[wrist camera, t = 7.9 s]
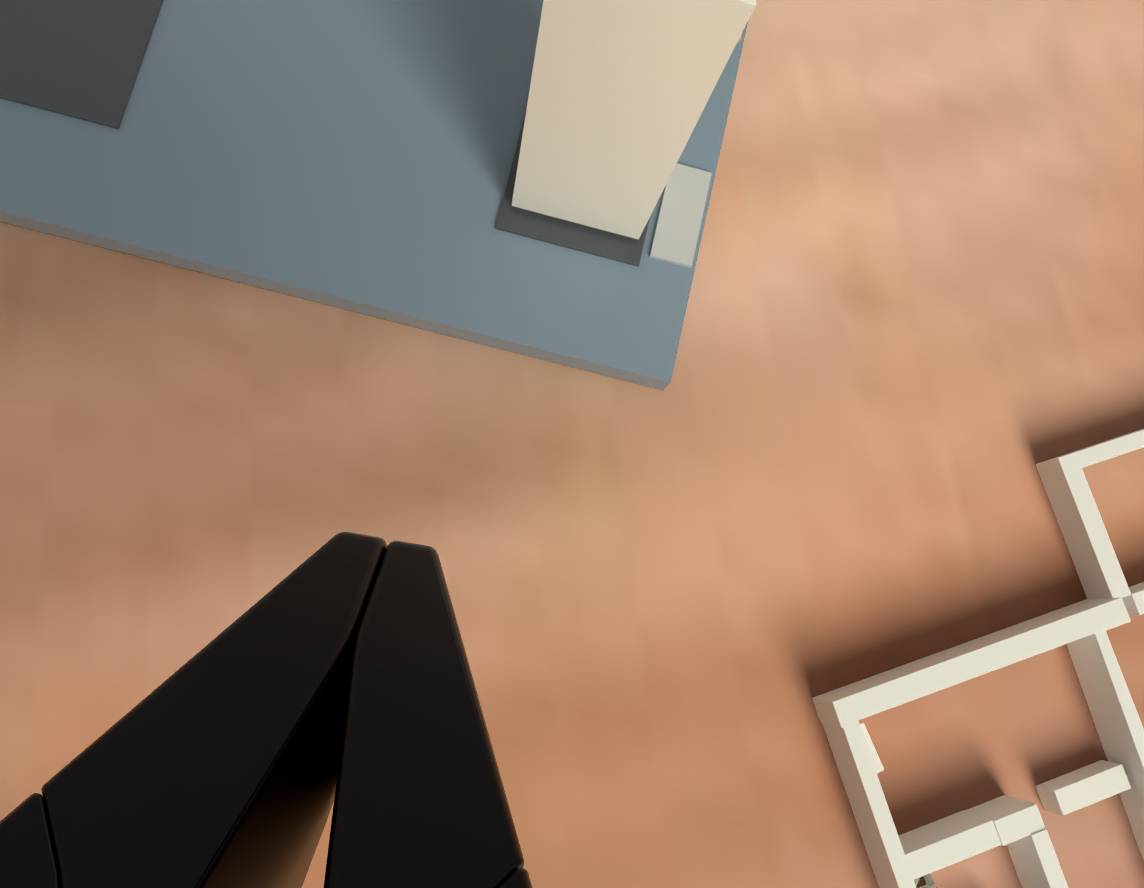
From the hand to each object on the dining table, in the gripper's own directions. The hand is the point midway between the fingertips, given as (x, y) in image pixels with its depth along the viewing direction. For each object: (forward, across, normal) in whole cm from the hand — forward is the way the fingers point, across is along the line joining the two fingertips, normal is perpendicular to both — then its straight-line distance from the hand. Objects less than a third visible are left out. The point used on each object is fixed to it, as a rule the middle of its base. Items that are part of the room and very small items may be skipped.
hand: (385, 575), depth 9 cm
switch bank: (+18, +4, +1) cm, 19 cm away
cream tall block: (+16, -2, +2) cm, 16 cm away
